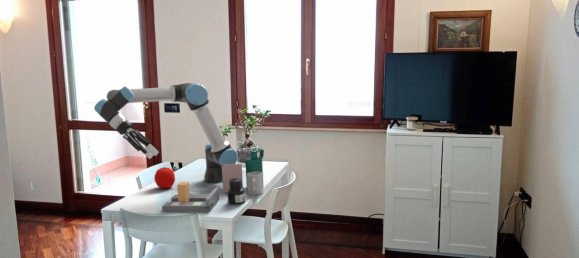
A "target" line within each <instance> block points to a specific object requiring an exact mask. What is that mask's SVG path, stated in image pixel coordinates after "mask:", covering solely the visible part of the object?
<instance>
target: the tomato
mask: <svg viewBox="0 0 579 258" xmlns="http://www.w3.org/2000/svg"><path fill="white" fill-rule="evenodd" d="M175 182H176V175H175V172H174V170H173V169H172V168H170V167H165V166H163V167H160V168H158V169H157V170H156V171H155V174H154V183H155V184H156V186H157V187H158V188H159V189H168V188H169V189H170V188H172V187H173V185H174V184H175Z"/></svg>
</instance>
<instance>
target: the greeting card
mask: <svg viewBox="0 0 579 258" xmlns="http://www.w3.org/2000/svg"><path fill="white" fill-rule="evenodd" d="M234 178H240V179H242V188H244V183H243V181H244V180H243V164H241V163H239V164H238V163H236V164H223V166H222V179H223V182H222V193H228V189H229V188H230V187H229V180H230V179H234Z"/></svg>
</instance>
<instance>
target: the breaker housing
mask: <svg viewBox="0 0 579 258" xmlns="http://www.w3.org/2000/svg"><path fill="white" fill-rule="evenodd" d="M189 197H190V201H189V202H178V193H177V194H174V195H173V196H172V197H170V198H171V199H170V201H166V202H165V203H164V204H162V206H161V211H162V213H210V212H211V211H212V210H213V209H214V207H216V205H217V203H218V202H219V201H220V200H221V199H220V187H214V188H213V190H212V191H211V192H210V193H209V194H207V193H201V194H200V193H197V194H194V193H191V194H190V193H189Z"/></svg>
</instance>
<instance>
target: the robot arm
mask: <svg viewBox="0 0 579 258" xmlns="http://www.w3.org/2000/svg"><path fill="white" fill-rule="evenodd" d="M164 101H166V102H167V101H170V102H172V103H177V102H178V103H185V104H187V107H188V108H189V110H190V111H191V112H193V113H194V114H195V116H196V118H197V120H198V121H199V124H200V126H201V128H202V130H203V132H204V134H205V136H206V138H207V140H208V142H209V143H206V144H205V147H204V152H205V172H204V175H203V182H206V183H221V182H222V183H223V179H222V166H223V164H237V162H238V159H239V157H238V152H237V151H236V150H235V149H234V148H232V145H231V143H230V141H228V140H226V139H225V137H224V135H223V133H222V132H221V129H220V126H219V125H218V123H217V121H216V119H215V117H214V114H213V113H212V110H211V109H210V106H209V104H210V100H209V92H208V90H207V88H206V87H205V86H204V85H202V84H200V83H196V82H192V83H190V82H186V83H179V84H170V86H164V87H151V88H150V87H148V88H146V87H145V88H130V89H129V87H127V86H123V87H122V88H119V89H111V90H110V91H109V90H108V92H107V94H106V99H105V98H102V99H101V100H99V101H98V102H97V103H95V105H94V107H93V108H94V112H95V113H97V114H98V115H99V117H101V118H102V119H103V120H104V121H105V122H107V124H109V125H110V127H111V128H113V129H114V130H116V132H117V133H118V134H119V135H121V136H122V137H123V139H124V140H126V141H127V142H128V143H129V144H130V145H131V146H132V147H133V148H134V149H135V150H136V151H137V152H141V153H142V154H143V155H144V156H146V157H147V158H148V159H149V160H151V159H152V158H153V157H154V156H155V157H157V156H158V154H159V153H160V151H159V150H158V149H157V148H155V147H154V145H152V144H151V143H152V141H151V140H149V138H147V137H146V136H145V135H144V134H143V133H141V132H140V130H138V129H137V128H136V129H133V128H132V126H133V124H132V123H131V122H130V120H128V119H127V118H126V117H124V115H123V114H121V113H120V112H119V111H121V110H122V109H123V108H124V107H125V106H126V105H128V104H137V103H152V102H164ZM143 145H144V146H143Z"/></svg>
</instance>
